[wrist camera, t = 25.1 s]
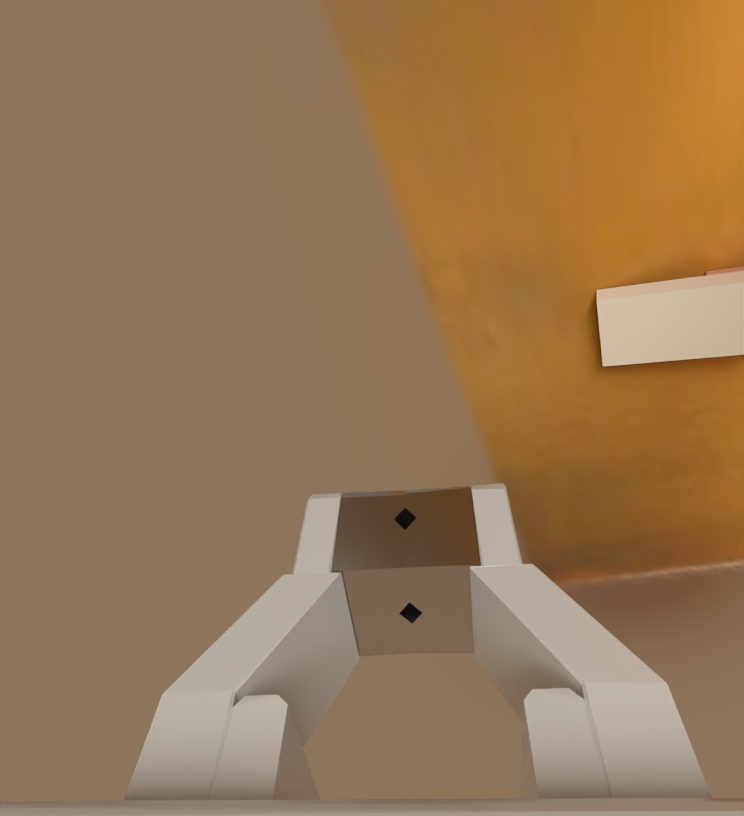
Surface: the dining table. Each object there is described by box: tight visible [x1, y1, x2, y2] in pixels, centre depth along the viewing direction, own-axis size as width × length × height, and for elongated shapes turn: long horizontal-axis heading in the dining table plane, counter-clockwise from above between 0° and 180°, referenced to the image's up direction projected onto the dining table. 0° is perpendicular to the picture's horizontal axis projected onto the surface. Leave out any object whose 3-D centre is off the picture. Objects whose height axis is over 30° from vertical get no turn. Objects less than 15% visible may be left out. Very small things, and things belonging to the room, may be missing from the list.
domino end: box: [597, 271, 744, 366], centre depth 38 cm, size 2×5×10 cm
